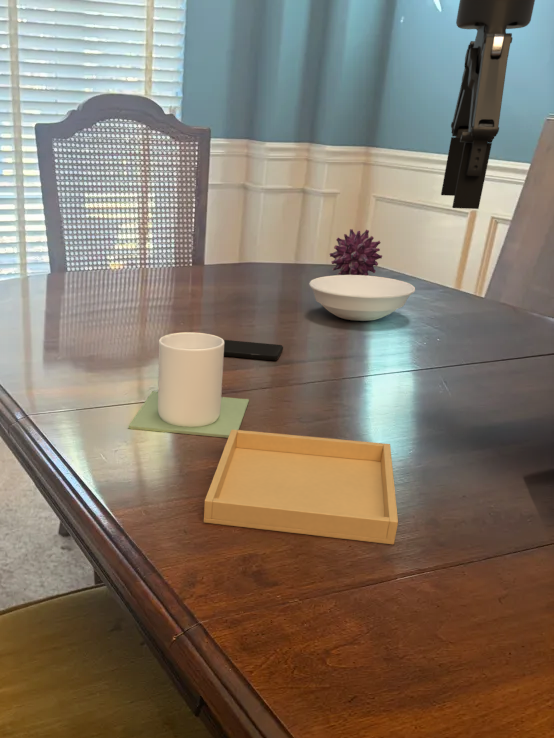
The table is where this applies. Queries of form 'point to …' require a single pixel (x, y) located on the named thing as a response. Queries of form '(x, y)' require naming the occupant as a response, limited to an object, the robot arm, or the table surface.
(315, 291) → the bowl
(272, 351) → the smartphone
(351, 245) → the purple spiky ball
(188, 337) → the cup
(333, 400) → the table surface
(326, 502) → the tray
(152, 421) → the mat
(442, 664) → the table surface
